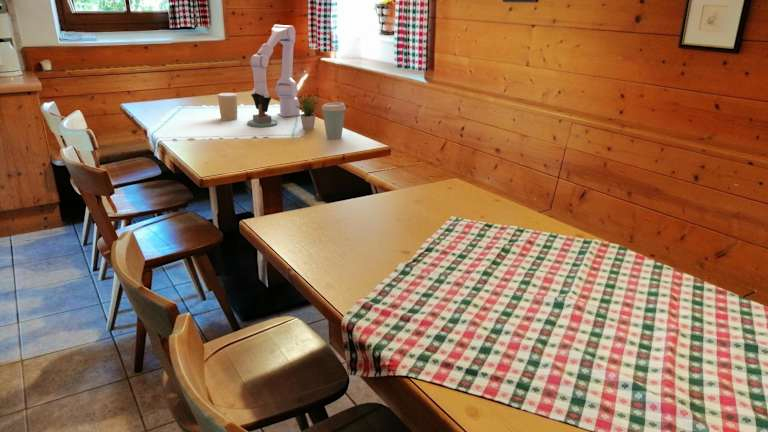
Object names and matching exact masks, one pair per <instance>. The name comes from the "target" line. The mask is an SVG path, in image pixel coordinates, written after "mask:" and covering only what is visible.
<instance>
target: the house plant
mask: <svg viewBox="0 0 768 432" xmlns="http://www.w3.org/2000/svg"><path fill="white" fill-rule="evenodd" d="M301 98H302V99H300V98H299V97H297V99H298V100H299V104H300V105H301V106H300V105H299V106H295V107H297V108H299V110H301V112H300V115H299V117H300V121H301V125H302V126H301V127H302V129H303V130H309V131H310V130H314V128H315V123H316V114H314V112H315V111H318V112H319V110H318V109H319V108H320V105H319V106H318V104H321V103H323V101H321V99H323V98H318V99H317V95H314V94H312V95H311V97H310V98H309V97H308V95H307V94H305V96H304V95H302V96H301ZM308 98H309V99H308ZM315 105H317V106H315Z"/></svg>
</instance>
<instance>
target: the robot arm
mask: <svg viewBox="0 0 768 432" xmlns="http://www.w3.org/2000/svg"><path fill="white" fill-rule="evenodd" d="M278 42H279V43H280V44H281V45H282V56H281V57H282V59H281V76H280V78H279V79H278V80H277V82H276V86H275V94H276V95H277V97H278V98H279V111H280V112H277V113H276V114H277V115H278V116H281V117H283V118H286V117H296V116H300V115H301V112H300V110H301V109H300V108H297V107H295V106H299V107H300V102H299V100H300V99H299V98H298V97H297V94H298V85H297V82H296V81H295V80H294V79H293V63H294V62H293V61H294V44H295V43H296V29H295V27H294V25H292V24H291V25H283V24H274V25H273V26H272V27H271V35H270V36H269V37H268V40H267V41H266V43H263V44H262V45H261V46H260V48H259V49H258V51H257V52H256V53H255V54H253V55H251V57H250V61H249V64H250V66H251V70H252V73H253V85H254V86H253V87H254V88H252V91H251V95H250V96H251V97H252V99H253V101H254V105H255V108H256V110H258V105H261V107H262V111H263V112H265V113H267V112H268V111H269V104H270V102H271V100H272V97H271V96H270V94H269V92H268V87H267V86H268V85H267V84H268V83H267V70H266V69H267V67H268V65H269V61H270V57H271V56H272V54H273V53H274V47H275V46H276V45H277V44H278ZM297 98H298V99H299V100H298V99H297Z"/></svg>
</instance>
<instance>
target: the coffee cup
mask: <svg viewBox="0 0 768 432" xmlns="http://www.w3.org/2000/svg"><path fill="white" fill-rule="evenodd" d="M217 99H218V100H217V101H218V106H219V114H220V118H221V120H223V121H235V120H238V95H237V93H235V92H220V93H217Z"/></svg>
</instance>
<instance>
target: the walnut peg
mask: <svg viewBox="0 0 768 432" xmlns="http://www.w3.org/2000/svg"><path fill="white" fill-rule="evenodd" d="M257 110H258V114H259V117H265V114H266V112H263V111H262V107H261V105H258V109H257Z"/></svg>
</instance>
